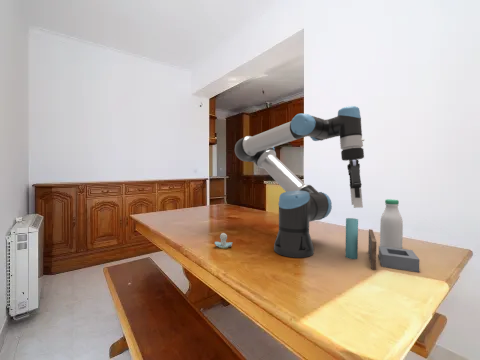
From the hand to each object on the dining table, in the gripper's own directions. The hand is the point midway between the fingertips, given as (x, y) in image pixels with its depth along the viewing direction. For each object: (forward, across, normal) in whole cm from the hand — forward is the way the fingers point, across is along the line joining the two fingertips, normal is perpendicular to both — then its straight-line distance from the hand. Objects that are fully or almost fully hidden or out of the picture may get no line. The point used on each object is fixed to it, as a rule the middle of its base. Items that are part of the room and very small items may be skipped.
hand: (356, 206), depth 85 cm
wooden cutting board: (+19, -1, -3) cm, 19 cm away
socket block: (+20, -2, -11) cm, 22 cm away
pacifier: (+15, -9, +51) cm, 54 cm away
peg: (+18, -1, +3) cm, 19 cm away
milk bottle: (+19, +17, -12) cm, 29 cm away
